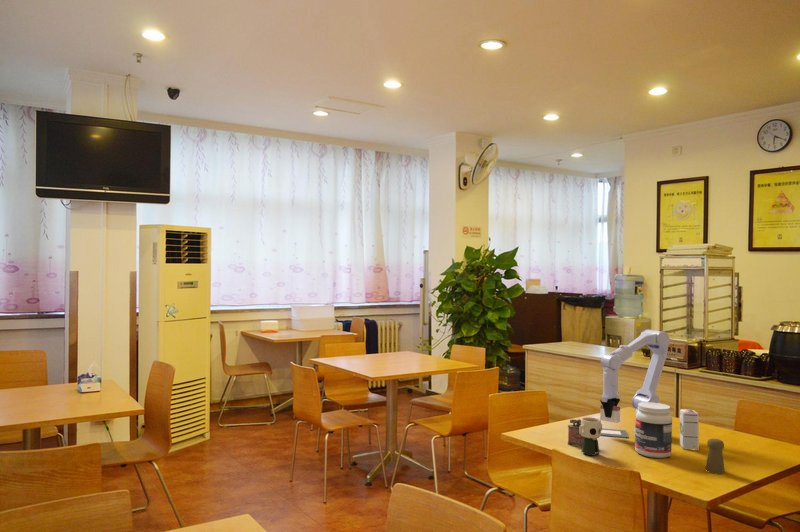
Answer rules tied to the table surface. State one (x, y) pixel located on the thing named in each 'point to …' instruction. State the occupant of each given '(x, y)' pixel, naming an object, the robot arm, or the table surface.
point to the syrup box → (689, 429)
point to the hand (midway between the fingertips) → (609, 416)
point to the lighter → (575, 433)
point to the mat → (614, 433)
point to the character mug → (590, 434)
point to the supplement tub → (653, 430)
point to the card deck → (614, 417)
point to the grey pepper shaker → (715, 456)
